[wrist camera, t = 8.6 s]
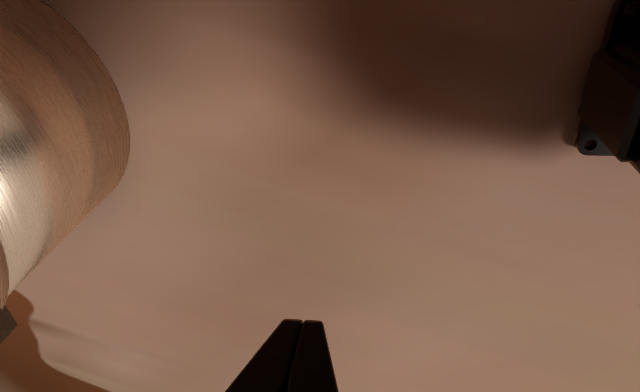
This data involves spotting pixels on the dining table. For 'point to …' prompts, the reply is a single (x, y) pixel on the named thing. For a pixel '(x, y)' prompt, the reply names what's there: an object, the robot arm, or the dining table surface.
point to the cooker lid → (3, 286)
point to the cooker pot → (52, 135)
